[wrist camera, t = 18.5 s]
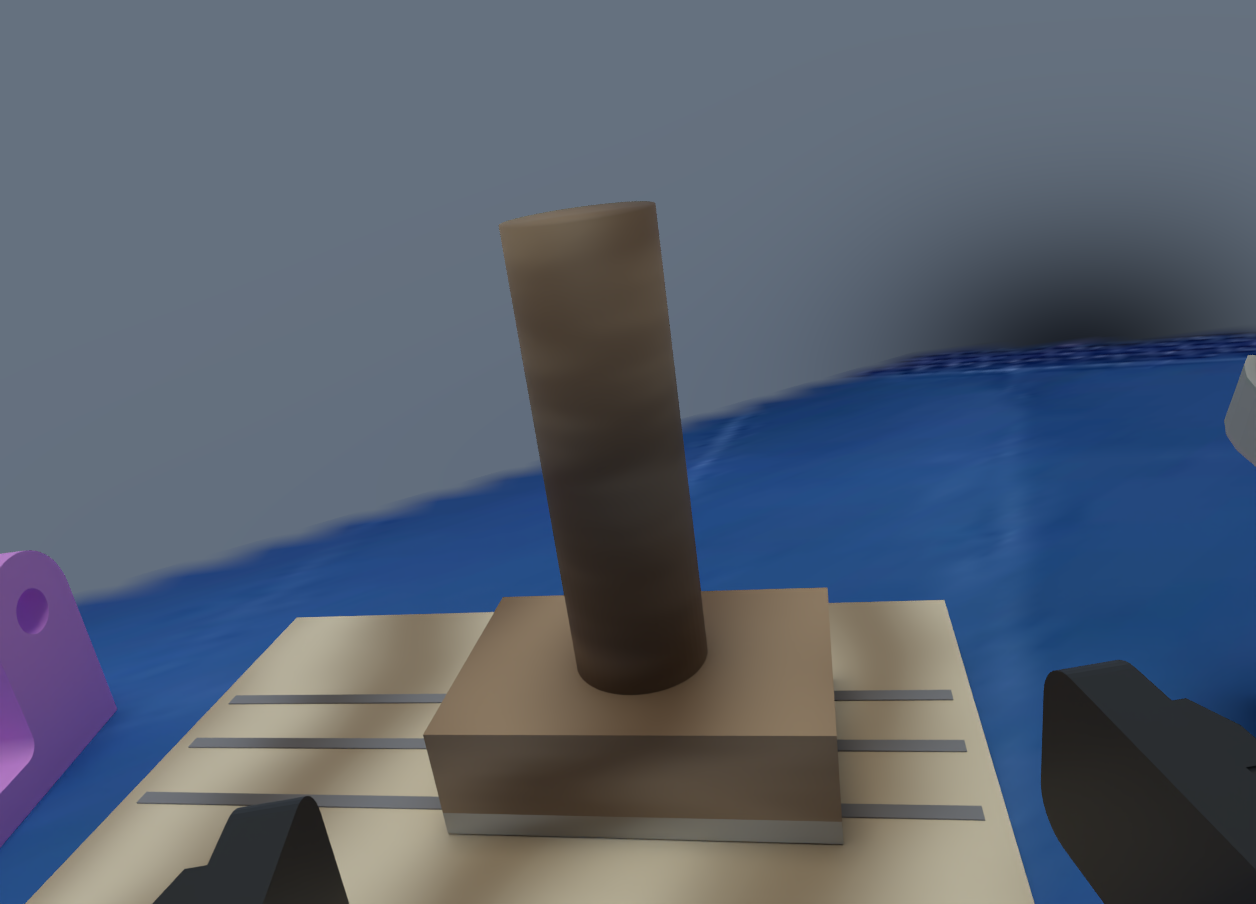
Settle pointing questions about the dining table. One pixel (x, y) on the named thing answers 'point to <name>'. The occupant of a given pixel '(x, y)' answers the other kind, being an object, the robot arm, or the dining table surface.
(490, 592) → the dining table surface
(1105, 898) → the robot arm
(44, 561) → the bracket
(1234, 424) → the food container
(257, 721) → the pine board
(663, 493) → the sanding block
